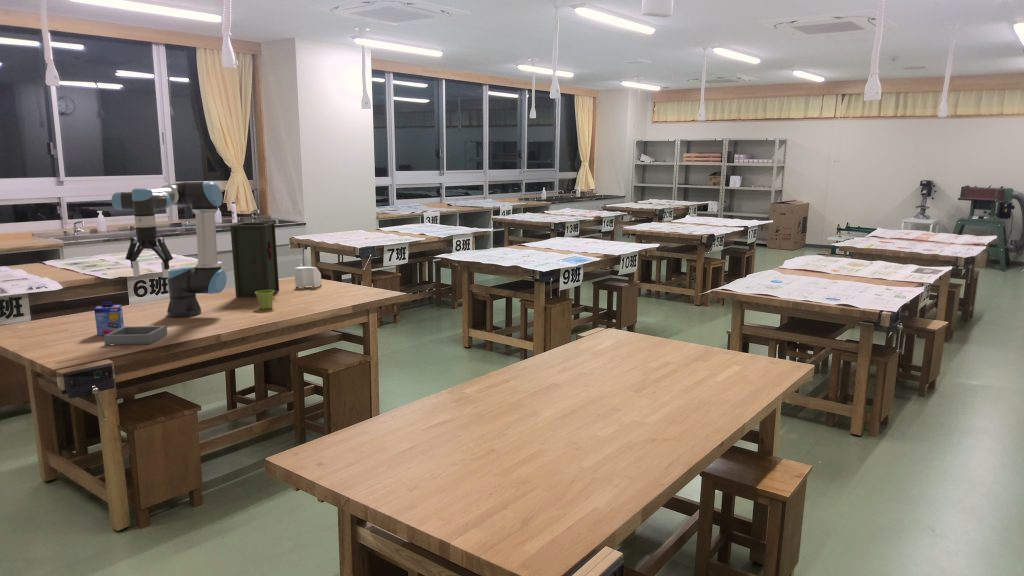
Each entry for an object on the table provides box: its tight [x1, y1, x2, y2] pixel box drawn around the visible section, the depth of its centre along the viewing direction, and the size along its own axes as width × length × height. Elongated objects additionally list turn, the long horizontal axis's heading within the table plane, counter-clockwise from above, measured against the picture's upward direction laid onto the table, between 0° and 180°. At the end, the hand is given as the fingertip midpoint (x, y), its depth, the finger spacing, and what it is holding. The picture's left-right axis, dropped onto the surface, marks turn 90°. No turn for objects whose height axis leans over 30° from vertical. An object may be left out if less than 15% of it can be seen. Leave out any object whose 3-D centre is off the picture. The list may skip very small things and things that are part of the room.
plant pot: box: [255, 290, 275, 310], centre depth 344 cm, size 9×9×9 cm
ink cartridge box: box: [93, 301, 125, 336], centre depth 293 cm, size 10×6×14 cm, turn 111°
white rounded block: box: [293, 266, 322, 288], centre depth 403 cm, size 11×11×12 cm
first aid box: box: [229, 222, 280, 298], centre depth 377 cm, size 18×18×40 cm
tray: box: [103, 325, 168, 346], centre depth 283 cm, size 16×18×4 cm
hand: (151, 276), depth 280 cm, fingers open, 13 cm apart
